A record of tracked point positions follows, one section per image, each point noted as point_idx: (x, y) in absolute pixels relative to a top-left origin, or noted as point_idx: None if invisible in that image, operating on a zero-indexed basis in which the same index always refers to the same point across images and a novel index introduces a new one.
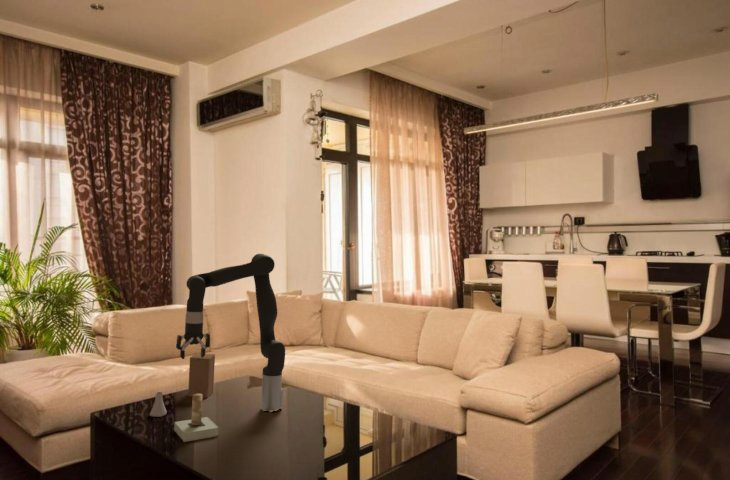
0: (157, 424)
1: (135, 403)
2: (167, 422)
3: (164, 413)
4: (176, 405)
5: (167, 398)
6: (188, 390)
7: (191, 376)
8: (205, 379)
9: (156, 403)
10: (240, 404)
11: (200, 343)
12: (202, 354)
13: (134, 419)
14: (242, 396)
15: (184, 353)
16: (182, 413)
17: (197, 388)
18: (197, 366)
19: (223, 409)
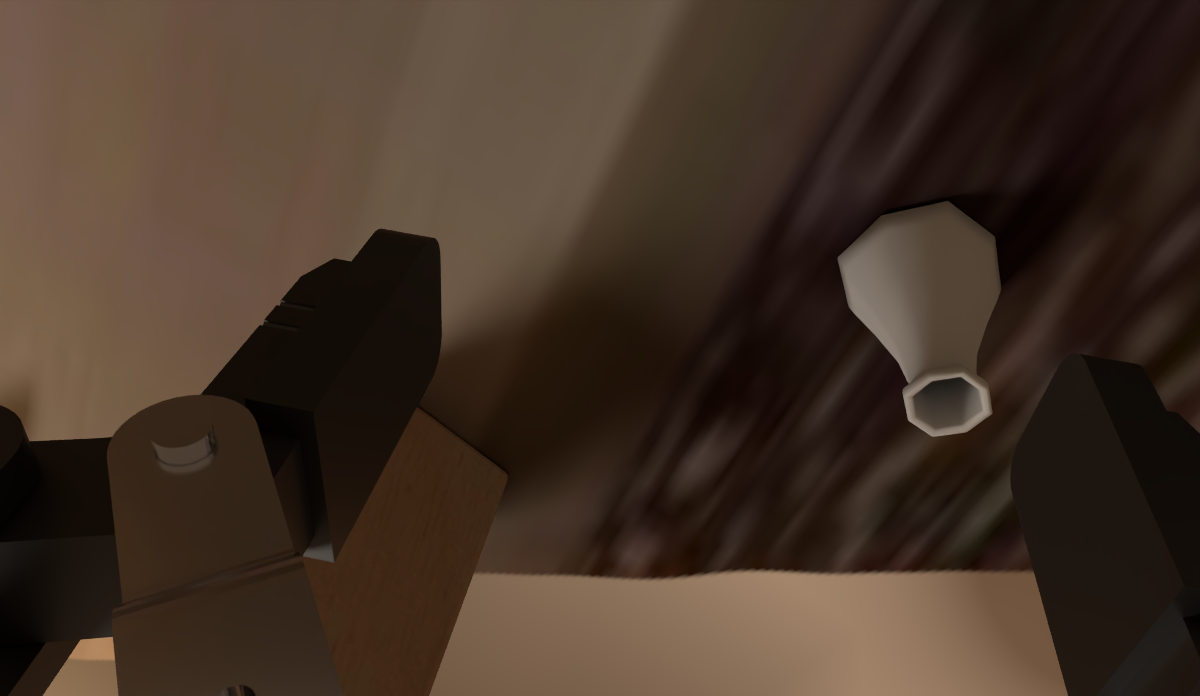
0: (1105, 19)
1: (907, 561)
2: (986, 16)
3: (892, 225)
4: (670, 372)
5: (657, 524)
6: (495, 512)
7: (441, 599)
8: None
9: (974, 321)
10: (149, 85)
11: (303, 671)
12: (398, 278)
13: (1166, 277)
14: (100, 260)
15: (1152, 486)
16: (722, 172)
17: (428, 483)
18: (359, 658)
19: (335, 48)
